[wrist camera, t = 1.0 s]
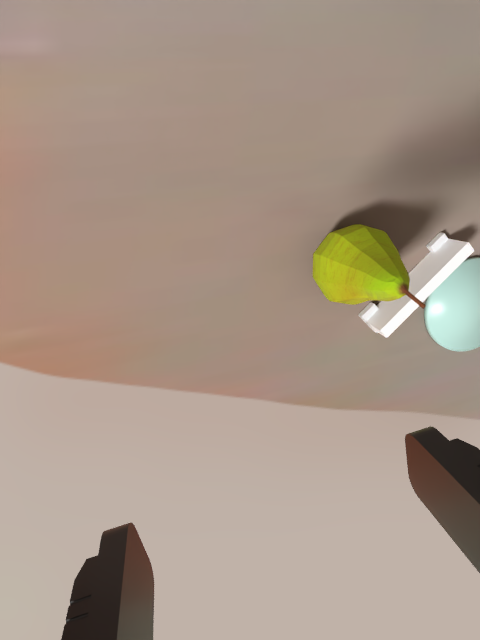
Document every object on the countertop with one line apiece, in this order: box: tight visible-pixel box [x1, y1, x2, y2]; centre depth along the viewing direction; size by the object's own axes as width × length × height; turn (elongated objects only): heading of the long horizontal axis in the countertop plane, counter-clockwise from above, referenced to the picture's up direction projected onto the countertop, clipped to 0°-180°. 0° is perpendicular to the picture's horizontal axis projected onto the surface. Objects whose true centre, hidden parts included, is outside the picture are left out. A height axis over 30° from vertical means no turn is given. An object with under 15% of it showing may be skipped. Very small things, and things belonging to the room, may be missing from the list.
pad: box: [424, 257, 480, 351], centre depth 38 cm, size 9×9×1 cm
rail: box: [359, 232, 474, 338], centre depth 35 cm, size 10×2×3 cm, turn 136°
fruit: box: [313, 224, 426, 308], centre depth 29 cm, size 6×6×12 cm
